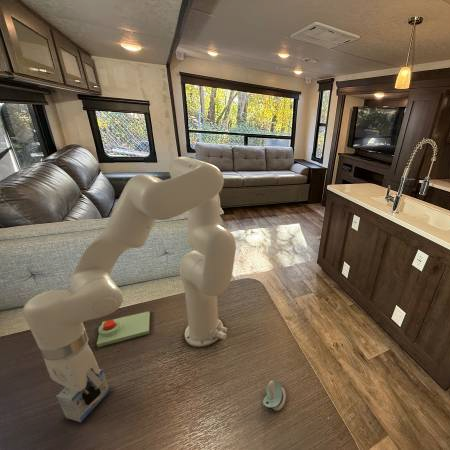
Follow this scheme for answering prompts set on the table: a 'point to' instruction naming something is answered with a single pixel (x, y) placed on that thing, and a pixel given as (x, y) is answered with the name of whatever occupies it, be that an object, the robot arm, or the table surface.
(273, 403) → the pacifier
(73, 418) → the medicine box
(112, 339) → the green button pad
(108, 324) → the tare button
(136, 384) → the table surface
